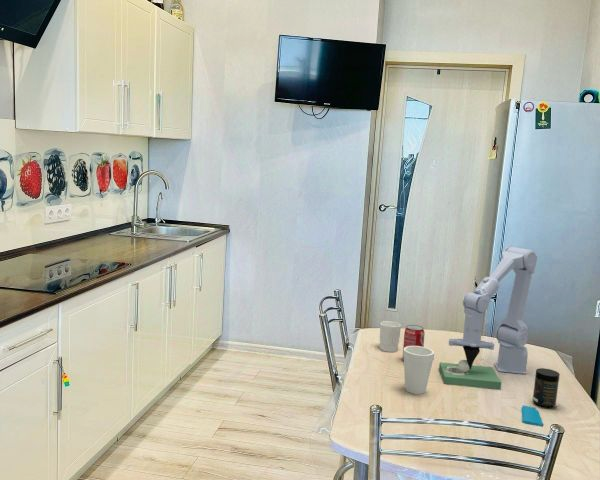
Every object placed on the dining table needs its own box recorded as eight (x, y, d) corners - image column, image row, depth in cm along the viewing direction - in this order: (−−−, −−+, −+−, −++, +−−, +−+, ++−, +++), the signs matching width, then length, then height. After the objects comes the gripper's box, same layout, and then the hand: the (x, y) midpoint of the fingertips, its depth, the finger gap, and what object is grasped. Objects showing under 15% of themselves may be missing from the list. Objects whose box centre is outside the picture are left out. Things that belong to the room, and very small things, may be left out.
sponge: (542, 409, 175) (522, 403, 177) (544, 425, 164) (522, 418, 166) (541, 413, 176) (521, 407, 178) (542, 430, 164) (521, 423, 166)
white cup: (400, 353, 221) (402, 327, 219) (379, 351, 221) (381, 326, 219) (397, 346, 228) (399, 321, 227) (377, 345, 228) (379, 320, 227)
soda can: (422, 366, 208) (425, 330, 206) (401, 363, 209) (404, 328, 207) (422, 359, 215) (425, 325, 213) (402, 357, 216) (405, 323, 214)
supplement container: (560, 408, 178) (564, 375, 177) (542, 410, 176) (546, 376, 175) (545, 399, 185) (549, 367, 183) (527, 400, 183) (531, 368, 181)
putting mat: (491, 374, 204) (492, 367, 204) (500, 389, 190) (501, 382, 190) (439, 369, 206) (439, 362, 206) (444, 383, 192) (444, 376, 192)
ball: (455, 360, 200) (459, 371, 200) (457, 363, 196) (460, 374, 196) (467, 357, 199) (470, 368, 199) (469, 360, 195) (472, 371, 195)
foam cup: (432, 387, 188) (435, 348, 186) (428, 398, 180) (432, 357, 178) (402, 382, 191) (406, 344, 189) (397, 392, 183) (401, 352, 181)
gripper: (452, 329, 192) (448, 369, 194) (497, 334, 191) (493, 374, 193) (449, 324, 199) (445, 362, 201) (493, 328, 198) (488, 366, 200)
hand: (468, 367), depth 197 cm, fingers closed, pressing on ball
